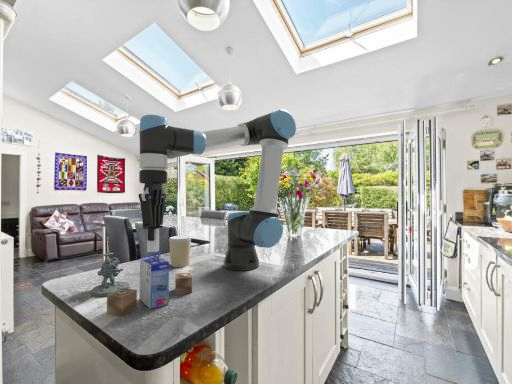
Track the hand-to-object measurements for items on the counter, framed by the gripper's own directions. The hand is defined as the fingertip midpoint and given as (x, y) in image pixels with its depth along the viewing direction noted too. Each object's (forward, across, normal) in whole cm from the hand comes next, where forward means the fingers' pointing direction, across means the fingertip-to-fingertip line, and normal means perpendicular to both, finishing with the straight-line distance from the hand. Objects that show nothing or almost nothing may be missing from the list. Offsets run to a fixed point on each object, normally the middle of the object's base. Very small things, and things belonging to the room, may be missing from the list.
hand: (153, 251), depth 73 cm
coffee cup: (+15, -37, -5) cm, 40 cm away
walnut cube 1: (+15, +6, -6) cm, 17 cm away
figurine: (+15, -8, -18) cm, 25 cm away
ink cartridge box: (+15, 0, 0) cm, 15 cm away
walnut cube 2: (+15, -8, +6) cm, 18 cm away
